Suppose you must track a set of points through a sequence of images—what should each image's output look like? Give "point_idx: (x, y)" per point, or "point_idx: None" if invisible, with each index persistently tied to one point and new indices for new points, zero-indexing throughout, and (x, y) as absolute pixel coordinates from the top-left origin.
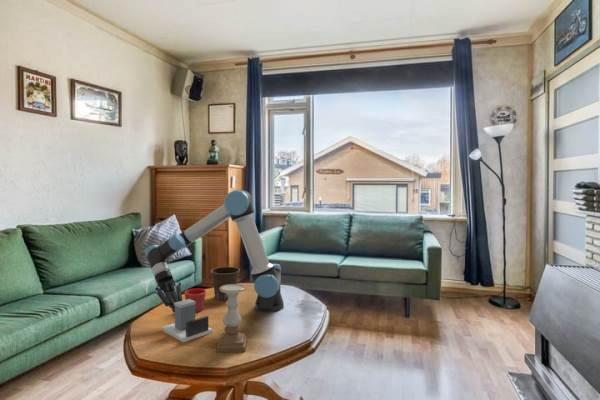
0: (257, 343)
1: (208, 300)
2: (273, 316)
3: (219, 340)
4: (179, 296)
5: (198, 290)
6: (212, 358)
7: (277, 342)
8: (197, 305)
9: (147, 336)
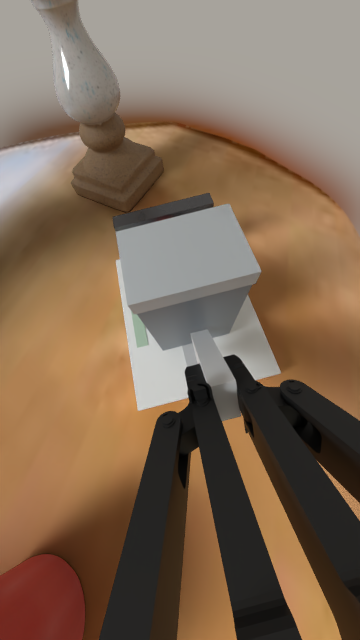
0: (69, 173)
1: None
2: None
3: (139, 182)
4: (175, 456)
5: None
6: (182, 155)
7: (35, 163)
8: (20, 575)
9: (335, 342)
